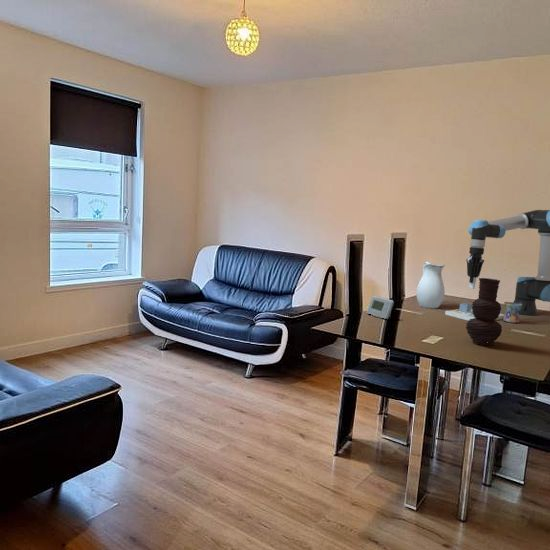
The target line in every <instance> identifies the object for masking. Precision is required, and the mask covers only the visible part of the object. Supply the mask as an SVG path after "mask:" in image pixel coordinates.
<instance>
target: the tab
mask: <svg viewBox="0 0 550 550" xmlns="http://www.w3.org/2000/svg"><path fill="white" fill-rule="evenodd" d="M471 308H472V304H470V303H468V302H467V303H466V302H462V303H460V304H459V308H458V309H459V311H463V312H469V311H471Z"/></svg>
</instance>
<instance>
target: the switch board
mask: <svg viewBox="0 0 550 550" xmlns="http://www.w3.org/2000/svg"><path fill="white" fill-rule="evenodd" d="M472 311H473V310H472V307H471V311H469V312H463V311H459V308H458V309H457V308H456V309H454V310H445V312H444V315H446V316H450V317H453V318H457V319H461V320H465V321H467V322H468V321H469V320H470V319H473V318H476V317H474V315H473V312H472ZM504 316H505V313H504V314H503V313H500V315H499V317H498V318H497V319H495V321H497V320H503V318H504Z"/></svg>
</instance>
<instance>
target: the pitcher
mask: <svg viewBox="0 0 550 550" xmlns="http://www.w3.org/2000/svg"><path fill="white" fill-rule="evenodd" d="M422 265H423V266H422V276H421V278H420V280H419V282H418V285H417V286H416V287H417V288H416V292H415V293H416V300H417V303H418V305H419V306H420V307H422V308H425V309H439V307H440V306H441V305H442V304H443V301H444V298H445V293H446V292H445V285H444V281H443V277H442V271H443V269H444V267H445V264H442V265H436V264H433V263H431V262H430V261H425V262H424V263H423V264H422Z"/></svg>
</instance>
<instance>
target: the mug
mask: <svg viewBox="0 0 550 550" xmlns="http://www.w3.org/2000/svg"><path fill="white" fill-rule="evenodd" d="M513 302H514V301H513ZM513 302H512V301H511V302H510V301H505V302H504V304H503V305H504V307H505V313H504V315H505V316H504V318H503V319H502V320H503V322H506V323H511V324H518V323H520V319H519V315H520V314H519V310H520V308H521V307H522V304H519V303H513Z"/></svg>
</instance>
